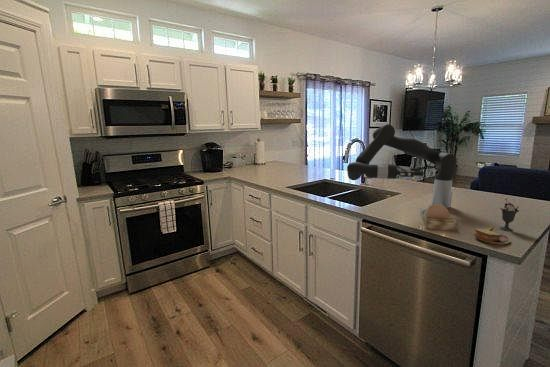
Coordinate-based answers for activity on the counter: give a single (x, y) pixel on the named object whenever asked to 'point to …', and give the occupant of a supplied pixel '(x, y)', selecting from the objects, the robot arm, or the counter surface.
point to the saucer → (437, 212)
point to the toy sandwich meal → (491, 236)
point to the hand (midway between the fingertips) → (421, 171)
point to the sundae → (508, 215)
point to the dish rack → (440, 223)
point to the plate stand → (422, 211)
